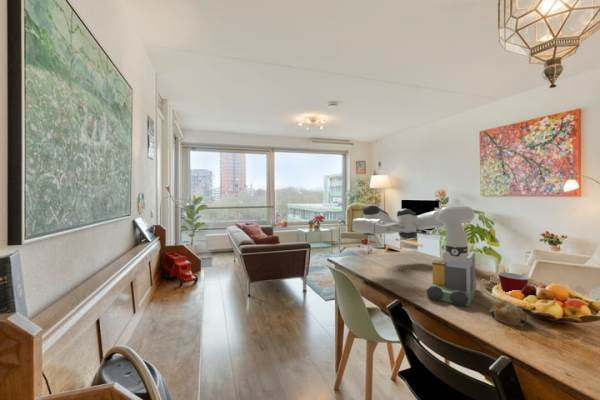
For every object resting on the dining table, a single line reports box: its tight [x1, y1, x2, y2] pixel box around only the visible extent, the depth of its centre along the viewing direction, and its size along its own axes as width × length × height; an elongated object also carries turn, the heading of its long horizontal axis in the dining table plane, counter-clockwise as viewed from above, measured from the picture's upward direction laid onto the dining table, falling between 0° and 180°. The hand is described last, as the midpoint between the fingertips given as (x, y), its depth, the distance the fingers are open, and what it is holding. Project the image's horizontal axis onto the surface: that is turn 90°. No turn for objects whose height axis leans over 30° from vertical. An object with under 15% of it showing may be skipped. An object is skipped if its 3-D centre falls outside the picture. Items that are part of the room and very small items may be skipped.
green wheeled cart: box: [426, 250, 477, 307], centre depth 124 cm, size 28×16×19 cm, turn 141°
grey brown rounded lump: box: [489, 302, 528, 327], centre depth 98 cm, size 10×10×8 cm
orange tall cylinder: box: [431, 259, 447, 286], centre depth 127 cm, size 5×5×14 cm
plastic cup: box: [497, 271, 531, 292], centre depth 113 cm, size 11×11×12 cm
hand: (402, 228), depth 145 cm, fingers open, 8 cm apart
